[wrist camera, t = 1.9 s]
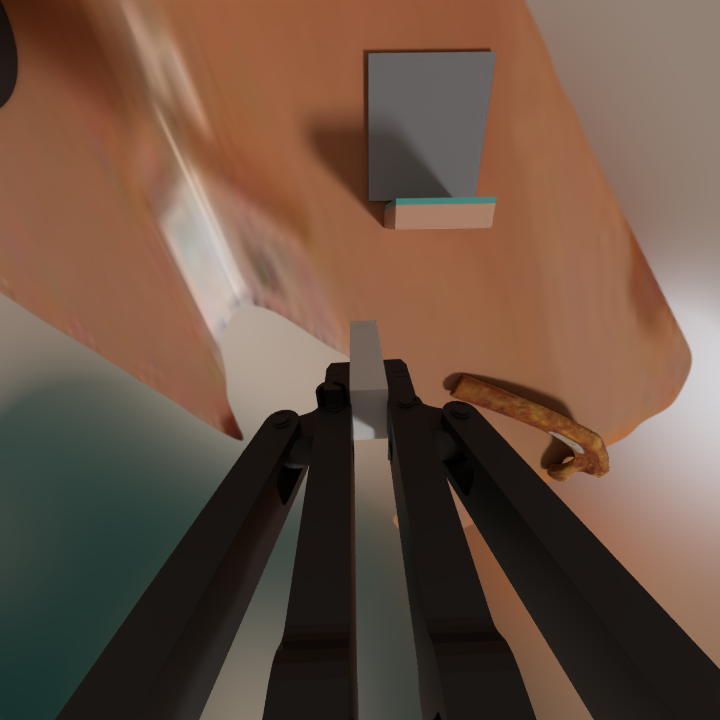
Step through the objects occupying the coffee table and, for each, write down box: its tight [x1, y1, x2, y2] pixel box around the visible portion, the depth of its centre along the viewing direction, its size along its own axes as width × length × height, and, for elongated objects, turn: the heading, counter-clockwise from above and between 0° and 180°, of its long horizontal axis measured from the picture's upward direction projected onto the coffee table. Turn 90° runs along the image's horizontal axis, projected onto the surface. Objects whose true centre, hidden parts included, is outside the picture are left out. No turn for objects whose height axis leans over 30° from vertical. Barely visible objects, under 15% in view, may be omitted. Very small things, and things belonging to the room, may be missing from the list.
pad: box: [368, 52, 496, 201], centre depth 31 cm, size 13×13×1 cm
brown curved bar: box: [450, 375, 609, 482], centre depth 48 cm, size 33×8×10 cm, turn 51°
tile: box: [384, 197, 497, 229], centre depth 30 cm, size 9×2×11 cm, turn 91°
